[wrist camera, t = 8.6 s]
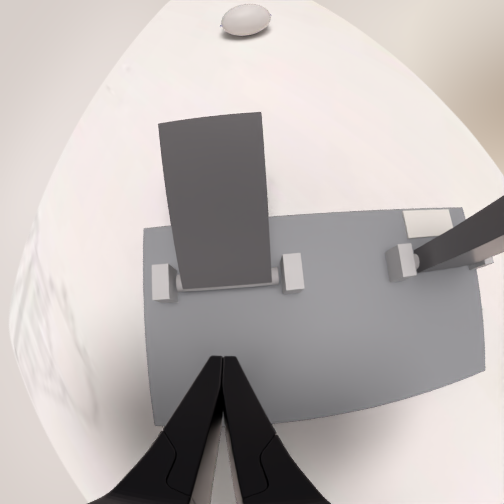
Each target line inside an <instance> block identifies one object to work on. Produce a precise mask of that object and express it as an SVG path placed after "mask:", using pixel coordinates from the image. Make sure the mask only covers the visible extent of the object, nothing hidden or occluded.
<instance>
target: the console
mask: <svg viewBox="0 0 504 504" xmlns="http://www.w3.org/2000/svg"><path fill="white" fill-rule="evenodd" d="M268 218H269V235H270V253H271V268H272V267H277V268H278V276H279V284H278V285H267V286H255V287H243V288H230V289H216V290H202V291H187V292H178V290H177V287H176V276H177V275H180V273H179V268H178V262H177V257H176V251H175V246H174V240H173V234H172V228H171V226H162V227H153V228H144V236H143V292H144V320H145V337H146V352H147V364H148V374H149V384H150V393H151V401H152V409H153V416H154V423H155V426H165V425H166V424H167V422H168V421H169V419H170V418H171V416H172V414H173V413H174V411H175V410H176V408H177V407H178V405H179V404H180V402H181V401H182V399H183V397H184V396H185V394H186V393H187V391H188V390H189V388H190V387H191V385H192V383H193V382H194V380H195V379H196V377H197V376H198V374H199V373H200V371H201V369H202V368H203V366H204V365H205V363H206V362H207V360H208V358H209V357H210V356H212V355H216V356H223V357H224V356H236V357H237V359H238V361H239V363H240V365H241V367H242V369H243V371H244V373H245V375H246V377H247V379H248V381H249V383H250V384H251V386H252V388H253V390H254V392H255V394H256V396H257V398H258V400H259V402H260V404H261V405H262V407H263V409H264V411H265V413H266V415H267V417H268V419H269V420H270V422H271V424H275V423H284V422H293V421H301V420H308V419H315V418H321V417H327V416H333V415H339V414H344V413H349V412H354V411H359V410H363V409H368V408H372V407H376V406H380V405H384V404H388V403H392V402H396V401H399V400H403V399H407V398H410V397H413V396H417V395H420V394H423V393H426V392H429V391H432V390H435V389H438V388H441V387H444V386H447V385H450V384H452V383H455V382H458V381H460V380H463V379H465V378H468V377H470V376H473V375H475V374H478V373H480V372H482V371H485V343H484V327H483V315H482V306H481V297H480V290H479V283H478V276H477V270H476V269H478V268H481V267H484V266H487V265H489V264H492V263H494V262H493V257H490V258H487V259H485V260H482V261H480V262H477V263H474V264H472V265H467V266H461V267H454V268H448V269H441V270H434V271H427V272H420V273H418V272H417V269H416V267H415V261H414V256H413V254H414V250H415V249H417V248H419V247H420V246H422V245H424V244H426V243H427V242H429V241H431V240H433V239H434V238H436V237H438V236H439V235H441V234H443V233H445V232H446V231H448V230H450V229H451V228H453V227H455V226H456V225H458V224H460V223H461V222H463V221H465V216H464V212H463V208H462V207H461V208H420V209H392V210H369V211H350V212H332V213H315V214H300V215H286V216H272V217H268ZM222 427H225V425H224V415H223V421H222Z"/></svg>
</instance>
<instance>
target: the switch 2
mask: <svg viewBox="0 0 504 504" xmlns="http://www.w3.org/2000/svg"><path fill="white" fill-rule="evenodd" d="M502 252H504V196H502V197H501V198H499V199H498V200H496V201H495V202H493V203H491V204H490V205H488V206H487V207H485V208H484V209H482V210H481V211H479V212H477V213H476V214H474V215H473V216H471V217H469V218H468V219H466V220H465V221H463V222H461V223H460V224H458V225H456V226H455V227H453V228H451V229H450V230H448V231H446V232H445V233H443V234H441V235H439V236H438V237H436V238H434V239H433V240H431V241H429V242H427V243H426V244H424V245H422V246H420V247H419V248H417V249H415V250H414V254H413V256H414V261H415V267H416V269H417V272H418V273H420V272H427V271H434V270H441V269H448V268H454V267H461V266H467V265H472V264H474V263H477V262H480V261H482V260H485V259H487V258H490V257H492V256H495V255H497V254H500V253H502Z"/></svg>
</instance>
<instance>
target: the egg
mask: <svg viewBox="0 0 504 504" xmlns="http://www.w3.org/2000/svg"><path fill="white" fill-rule="evenodd" d="M270 16H271V14H270V13H269V12H268V10H267V9H265V8H264V7H262V6H260V5H256V4H244V5H239V6H236V7H234V8H232V9H230V10H229V11H228V12H226V13H225V15H224V16H223V18H222V21H221V25H220V26H222V27H223V29H224V30H225V31H226V32H228V33H230V34H233V35H238V36H247V35H252V34H255V33H258V32H259V31H261V30H263V29H264V28H265V27H266V26H267V25H268V24H269V22H270V18H271V17H270Z"/></svg>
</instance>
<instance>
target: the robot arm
mask: <svg viewBox="0 0 504 504" xmlns="http://www.w3.org/2000/svg"><path fill="white" fill-rule="evenodd" d="M223 415H224V425H225V433H226V440H227V447H228V454H229V460H230V467H231V473H232V480H233V486H234V492H235V498H236V504H331V503H330V502H329V501H327V500H326V499H325V498H324V497H323V496H322V494H321V493H320V492H319V491H318V490H317V489H316V488H315V486H314V485H313V484H312V483H311V482H310V481H309V479H308V478H307V477H306V476H305V474H304V473H303V472H302V471H301V470H300V468H299V467H298V466H297V464H296V463H295V462H294V460H293V459H292V458H291V456H290V455H289V453H288V452H287V450H286V448H285V447H284V445H283V444H282V442H281V440H280V438H279V436H278V435H276V431H275V429H274V428H273V426H272V424H271V422H270V420H269V419H268V417H267V415H266V413H265V411H264V409H263V407H262V405H261V404H260V402H259V400H258V398H257V396H256V394H255V392H254V390H253V388H252V386H251V384H250V383H249V381H248V379H247V377H246V375H245V373H244V371H243V369H242V367H241V365H240V363H239V361H238V359H237V357H236V356H224V357H223V356H216V355H212V356H210V357H209V358H208V360H207V362H206V363H205V365H204V366H203V368H202V369H201V371H200V373H199V374H198V376H197V377H196V379H195V380H194V382H193V383H192V385H191V387H190V388H189V390H188V391H187V393H186V394H185V396H184V397H183V399H182V401H181V402H180V404H179V405H178V407H177V408H176V410H175V411H174V413H173V414H172V416H171V418H170V419H169V421H168V422H167V424H166V425H165V427H164V428H163V431H161V433H160V434H159V436H158V437H157V439H156V440H155V441H154V443H153V444H152V446H151V447H150V448H149V450H148V451H147V452H146V454H145V455H144V456H143V457H142V458H141V459H140V461H139V462H138V463H137V464H136V465H135V466H134V467H133V468H132V469H131V471H130V472H129V473H128V474H127V475H126V476H125V477H124V478H123V479H122V480H121V481H120V482H119V483H118V485H117V486H116V487H115V488H114V489H112V490H111V491H110V492H109V493H107V494H106V495H104V496H103V497H101V498H99V499H97V500H94V501H92V502H90V503H88V504H210V501H211V494H212V487H213V481H214V474H215V467H216V461H217V454H218V448H219V441H220V434H221V428H222V421H223Z"/></svg>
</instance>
